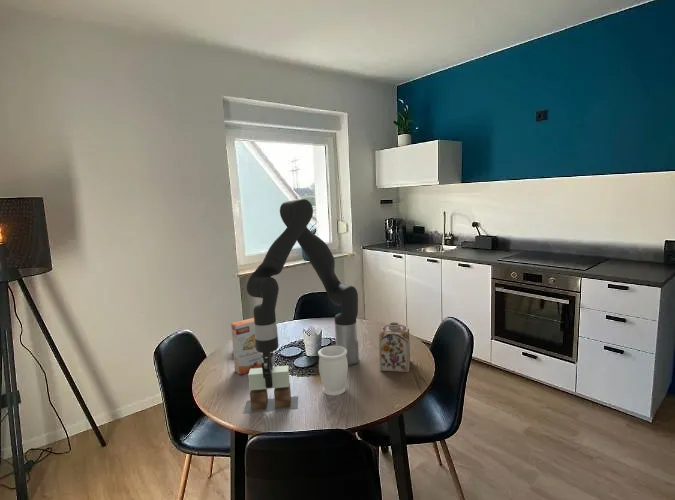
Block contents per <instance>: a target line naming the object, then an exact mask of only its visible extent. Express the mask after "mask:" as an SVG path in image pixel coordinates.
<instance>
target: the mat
mask: <svg viewBox="0 0 675 500" xmlns="http://www.w3.org/2000/svg"><path fill="white" fill-rule="evenodd" d="M298 406H299V396H291V406H290V407H284V408H275V397H273V398H268V404H267V408H266V409H260V410H251V401H250V399H249V400H246V403H245V406H244V409H243V412H242V414H253V413H254V414H255V413H265V412H278V411H289V410H298V409H299V407H298Z"/></svg>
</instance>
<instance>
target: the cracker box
mask: <svg viewBox="0 0 675 500" xmlns="http://www.w3.org/2000/svg"><path fill="white" fill-rule="evenodd" d="M254 327H255V323H254V317H251V318H246V319H243V320H238V321H234V322H231V323H230V329H231V338H232V339H231V340H232V341H231V342H232V353H233V365H234V366H233V368H234V371H235V372H236V373H237V374H238V375H239V376H240V375H243V374H247V373H249V371H250V369H254V368H262V366H261V364H262V361H261V356H262V353H261V352H258V351H257V350H256V345H255V333H254Z"/></svg>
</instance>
